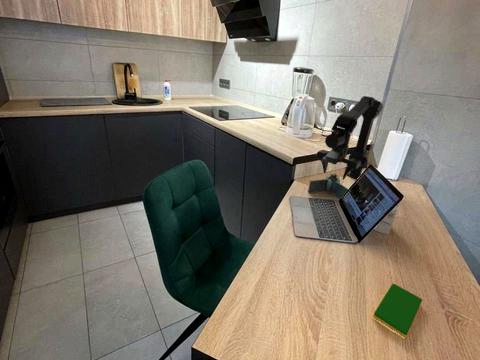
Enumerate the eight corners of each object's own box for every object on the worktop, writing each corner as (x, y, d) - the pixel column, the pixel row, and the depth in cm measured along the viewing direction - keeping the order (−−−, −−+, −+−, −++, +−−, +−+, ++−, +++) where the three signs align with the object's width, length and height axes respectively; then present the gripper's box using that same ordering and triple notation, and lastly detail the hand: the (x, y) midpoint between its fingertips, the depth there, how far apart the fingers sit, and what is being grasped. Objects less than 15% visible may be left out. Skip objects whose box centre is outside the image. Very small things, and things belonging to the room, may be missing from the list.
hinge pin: (328, 188, 126) (332, 173, 122) (334, 190, 124) (338, 175, 121) (326, 190, 124) (329, 174, 120) (331, 192, 122) (335, 176, 119)
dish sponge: (371, 319, 63) (374, 312, 62) (390, 288, 72) (393, 282, 71) (403, 341, 58) (407, 334, 57) (419, 305, 67) (422, 299, 66)
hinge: (321, 183, 130) (323, 172, 127) (354, 196, 120) (358, 184, 117) (307, 192, 121) (309, 180, 118) (342, 206, 110) (345, 194, 108)
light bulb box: (390, 226, 99) (399, 202, 94) (388, 235, 94) (398, 210, 89) (360, 217, 104) (367, 193, 99) (357, 225, 99) (365, 200, 94)
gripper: (313, 141, 114) (307, 174, 121) (355, 153, 103) (346, 188, 110) (325, 137, 122) (318, 168, 128) (365, 148, 111) (356, 181, 117)
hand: (333, 176), depth 121 cm, fingers open, 9 cm apart
